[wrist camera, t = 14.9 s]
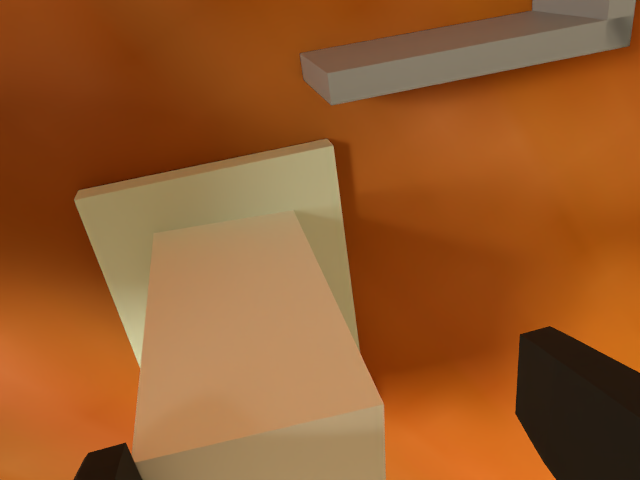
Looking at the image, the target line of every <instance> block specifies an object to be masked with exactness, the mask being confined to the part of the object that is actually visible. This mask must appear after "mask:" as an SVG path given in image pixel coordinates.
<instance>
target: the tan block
mask: <svg viewBox="0 0 640 480" xmlns="http://www.w3.org/2000/svg"><path fill="white" fill-rule="evenodd" d="M132 458H133V460H134V462H135V464H136V466H137V469H138V471H139V473H140V475H141V478H142V480H386V472H385V429H384V403H383V401H382V399H381V397H380V395H379V393H378V390H377V388H376V386H375V384H374V382H373V380H372V378H371V375H370V373H369V371H368V369H367V367H366V365H365V363H364V360H363V358H362V356H361V354H360V352H359V350H358V348H357V345H356V343H355V341H354V339H353V337H352V335H351V333H350V330H349V328H348V326H347V324H346V322H345V320H344V318H343V315H342V313H341V311H340V309H339V307H338V305H337V303H336V300H335V298H334V296H333V294H332V292H331V290H330V288H329V285H328V283H327V281H326V279H325V277H324V275H323V273H322V270H321V268H320V266H319V264H318V262H317V260H316V258H315V255H314V253H313V251H312V249H311V247H310V245H309V243H308V240H307V238H306V236H305V234H304V232H303V230H302V228H301V225H300V223H299V221H298V219H297V217H296V215H295V213H294V210H290V211H284V212H278V213H272V214H266V215H260V216H254V217H248V218H242V219H236V220H230V221H224V222H218V223H211V224H205V225H199V226H193V227H187V228H181V229H175V230H169V231H163V232H157V233H154V234H153V245H152V255H151V265H150V275H149V285H148V295H147V306H146V316H145V326H144V336H143V346H142V357H141V367H140V377H139V387H138V397H137V407H136V418H135V428H134V438H133V448H132Z"/></svg>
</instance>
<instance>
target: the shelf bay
mask: <svg viewBox="0 0 640 480" xmlns="http://www.w3.org/2000/svg"><path fill="white" fill-rule="evenodd" d="M635 3H636V0H533V3H532V11H527V12H522V13H517V14H511V15H506V16H500V17H495V18H489V19H484V20H478V21H473V22H468V23H462V24H457V25H451V26H446V27H440V28H435V29H429V30H424V31H419V32H413V33H408V34H402V35H397V36H391V37H386V38H380V39H375V40H370V41H364V42H359V43H353V44H348V45H342V46H337V47H331V48H326V49H320V50H315V51H310V52H304V53H300V59H301V66H302V73H303V79H304V81H305V82H306V83H307V84H309V85H310V86H311V87H312V88H313V89H314V90H315V91H316V92H317V93H318V94H319V95H321V96H322V97H323V98H324V99H325V100H326V101H327V102H328V103H329V104H330V105H336V104H341V103H346V102H351V101H356V100H361V99H366V98H371V97H376V96H381V95H386V94H391V93H396V92H401V91H406V90H411V89H416V88H421V87H426V86H431V85H436V84H442V83H447V82H452V81H457V80H462V79H467V78H472V77H477V76H482V75H487V74H492V73H497V72H502V71H507V70H512V69H517V68H522V67H527V66H532V65H537V64H542V63H547V62H552V61H557V60H562V59H567V58H572V57H577V56H582V55H587V54H592V53H597V52H602V51H607V50H612V49H617V48H622V47H627V46H630V39H631V32H632V25H633V18H634V10H635Z"/></svg>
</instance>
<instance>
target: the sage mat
mask: <svg viewBox="0 0 640 480" xmlns="http://www.w3.org/2000/svg"><path fill="white" fill-rule="evenodd" d="M74 202H75V204H76V207H77V209H78V212H79V214H80V217H81V220H82V222H83V225H84V227H85V230H86V232H87V235H88V237H89V240H90V242H91V245H92V247H93V250H94V252H95V255H96V257H97V260H98V263H99V265H100V268H101V270H102V273H103V275H104V278H105V280H106V283H107V285H108V288H109V290H110V293H111V295H112V298H113V301H114V303H115V306H116V308H117V311H118V313H119V316H120V318H121V321H122V323H123V326H124V328H125V331H126V333H127V336H128V339H129V341H130V344H131V346H132V349H133V351H134V354H135V356H136V359H137V361H138V364H139V366H140V367H141V357H142V346H143V336H144V326H145V316H146V306H147V295H148V285H149V275H150V265H151V255H152V245H153V234H154V233H157V232H163V231H169V230H175V229H181V228H187V227H193V226H199V225H205V224H211V223H218V222H224V221H230V220H236V219H242V218H248V217H254V216H260V215H266V214H272V213H278V212H284V211H290V210H294V213H295V215H296V217H297V219H298V221H299V223H300V225H301V228H302V230H303V232H304V234H305V236H306V238H307V240H308V243H309V245H310V247H311V249H312V251H313V253H314V255H315V258H316V260H317V262H318V264H319V266H320V268H321V270H322V273H323V275H324V277H325V279H326V281H327V283H328V285H329V288H330V290H331V292H332V294H333V296H334V298H335V300H336V303H337V305H338V307H339V309H340V311H341V313H342V315H343V318H344V320H345V322H346V324H347V326H348V328H349V330H350V333H351V335H352V337H353V339H354V341H355V343H356V345H357V348H358V350H359V352H360V348H359V340H358V332H357V325H356V317H355V309H354V301H353V294H352V286H351V278H350V270H349V263H348V255H347V247H346V239H345V232H344V224H343V216H342V208H341V201H340V193H339V185H338V177H337V170H336V162H335V154H334V146H333V144H332V143H331V142H330V141H329V140H328V139H323V140H318V141H313V142H308V143H303V144H298V145H294V146H289V147H284V148H279V149H274V150H270V151H265V152H260V153H255V154H250V155H246V156H241V157H236V158H231V159H226V160H221V161H217V162H212V163H207V164H202V165H197V166H193V167H188V168H183V169H178V170H173V171H169V172H164V173H159V174H154V175H149V176H144V177H140V178H135V179H130V180H125V181H120V182H116V183H111V184H106V185H101V186H96V187H92V188H87V189H82V190H78V192H77V194H76V196H75V199H74Z"/></svg>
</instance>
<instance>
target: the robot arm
mask: <svg viewBox="0 0 640 480" xmlns="http://www.w3.org/2000/svg"><path fill="white" fill-rule="evenodd" d="M515 414H516V415H517V417H518V419H519V421H520V422H521V424H522V426H523V428H524V429H525V431H526V433H527V435H528V437H529V438H530V440H531V442H532V443H533V445H534V447H535V448H536V450H537V452H538V453H539V455H540V457H541V458H542V460H543V462H544V463H545V465H546V466H547V468H548V469H549V470H550V472H551V473H552V474H553V476H554V477H555V478H556V480H640V373H639V372H637V371H635V370H633V369H631V368H629V367H627V366H625V365H624V364H622V363H620V362H618V361H616V360H614V359H612V358H610V357H608V356H606V355H605V354H603V353H601V352H599V351H597V350H595V349H593V348H591V347H589V346H588V345H586V344H584V343H582V342H580V341H578V340H576V339H574V338H572V337H570V336H568V335H566V334H565V333H563V332H561V331H559V330H556V329H554V328H552V327H550V326H549V327H545V328H542V329H538V330H535V331H531V332H527V333H524V334H520V343H519V360H518V377H517V395H516V412H515ZM74 480H142V478H141V475H140V473H139V471H138V469H137V466H136V464H135V462H134V460H133V458H132V455H131V453H130V451H129V449H128V447H127V444H126V443H123V444H119V445H116V446H112V447H108V448H105V449H101V450H97V451H94V452H90V453H88V454H87V456H86V457H85V459H84V460H83V462H82V464H81V466H80V468H79V470H78V472H77V474H76V476H75V478H74Z"/></svg>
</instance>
